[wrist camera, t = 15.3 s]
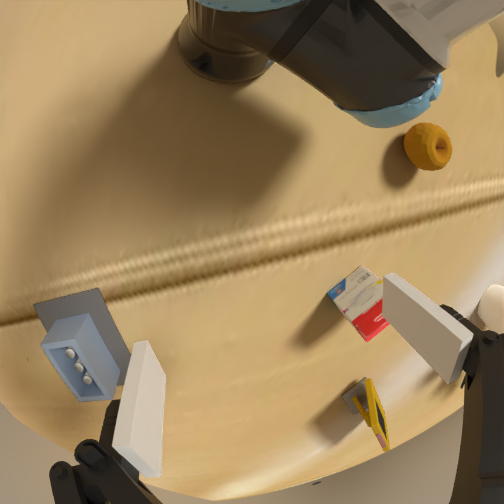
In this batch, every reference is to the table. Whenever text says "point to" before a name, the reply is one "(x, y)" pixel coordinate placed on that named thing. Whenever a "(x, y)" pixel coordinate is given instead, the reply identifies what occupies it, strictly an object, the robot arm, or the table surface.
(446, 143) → the apple
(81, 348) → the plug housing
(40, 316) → the header
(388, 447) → the yellow framed monitor
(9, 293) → the table surface
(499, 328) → the potted plant
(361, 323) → the ink box
